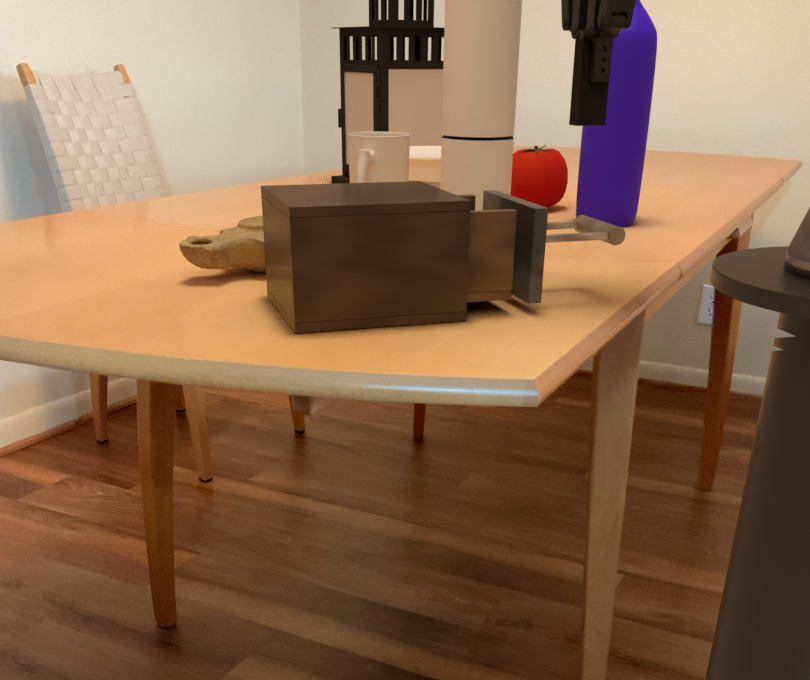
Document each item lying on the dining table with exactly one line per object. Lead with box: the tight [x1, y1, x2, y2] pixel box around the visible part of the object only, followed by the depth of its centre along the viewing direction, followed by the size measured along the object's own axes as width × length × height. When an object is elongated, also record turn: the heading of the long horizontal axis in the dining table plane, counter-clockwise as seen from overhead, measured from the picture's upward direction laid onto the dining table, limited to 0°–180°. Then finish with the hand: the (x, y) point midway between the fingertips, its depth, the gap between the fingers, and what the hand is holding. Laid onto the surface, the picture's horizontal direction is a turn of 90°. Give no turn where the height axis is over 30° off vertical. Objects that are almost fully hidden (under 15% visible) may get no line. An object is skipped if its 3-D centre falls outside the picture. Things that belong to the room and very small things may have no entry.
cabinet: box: [260, 181, 471, 334], centre depth 78 cm, size 15×13×10 cm
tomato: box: [510, 144, 569, 209], centre depth 131 cm, size 9×10×8 cm
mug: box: [348, 131, 410, 183], centre depth 101 cm, size 10×7×12 cm, turn 163°
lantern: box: [330, 0, 444, 184], centre depth 145 cm, size 17×17×35 cm
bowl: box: [409, 146, 441, 189], centre depth 121 cm, size 16×16×8 cm
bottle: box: [575, 0, 658, 228], centre depth 116 cm, size 8×8×30 cm
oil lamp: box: [178, 215, 266, 274], centre depth 92 cm, size 11×14×5 cm
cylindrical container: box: [440, 0, 523, 211], centre depth 90 cm, size 7×7×25 cm
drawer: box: [458, 190, 626, 305], centre depth 81 cm, size 22×11×8 cm, turn 108°
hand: (587, 124), depth 79 cm, fingers closed
